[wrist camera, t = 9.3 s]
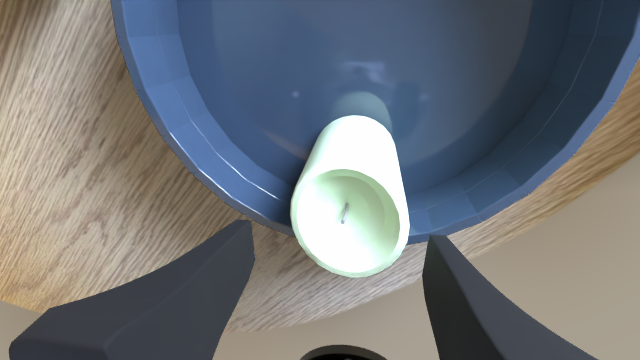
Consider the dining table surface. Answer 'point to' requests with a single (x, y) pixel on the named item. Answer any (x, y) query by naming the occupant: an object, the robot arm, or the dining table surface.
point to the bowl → (379, 92)
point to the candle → (351, 199)
